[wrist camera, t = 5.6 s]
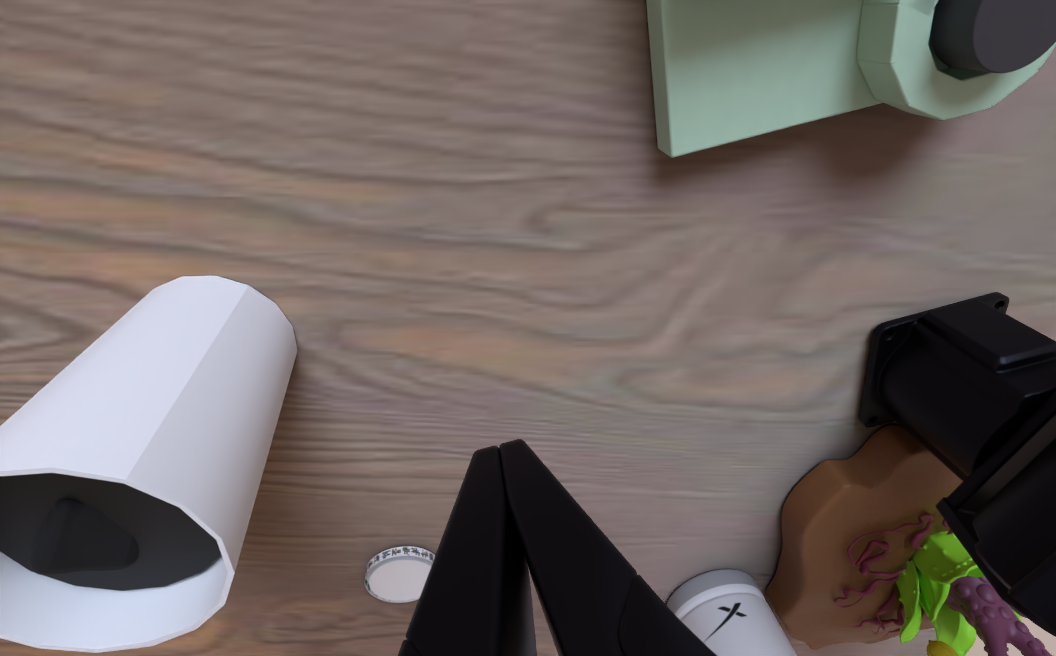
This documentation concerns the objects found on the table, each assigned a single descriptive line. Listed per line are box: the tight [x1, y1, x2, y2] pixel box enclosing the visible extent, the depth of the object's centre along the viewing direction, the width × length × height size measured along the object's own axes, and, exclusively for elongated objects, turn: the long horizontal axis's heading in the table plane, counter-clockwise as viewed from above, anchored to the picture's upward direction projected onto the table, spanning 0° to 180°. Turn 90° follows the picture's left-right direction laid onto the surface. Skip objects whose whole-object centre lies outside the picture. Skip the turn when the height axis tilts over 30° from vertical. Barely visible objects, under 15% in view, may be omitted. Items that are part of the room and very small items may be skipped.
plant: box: [767, 425, 1052, 656], centre depth 30 cm, size 20×20×11 cm
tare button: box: [931, 0, 1056, 73], centre depth 16 cm, size 3×3×2 cm
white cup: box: [0, 276, 298, 653], centre depth 17 cm, size 7×7×10 cm
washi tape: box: [364, 546, 435, 603], centre depth 29 cm, size 4×4×1 cm
